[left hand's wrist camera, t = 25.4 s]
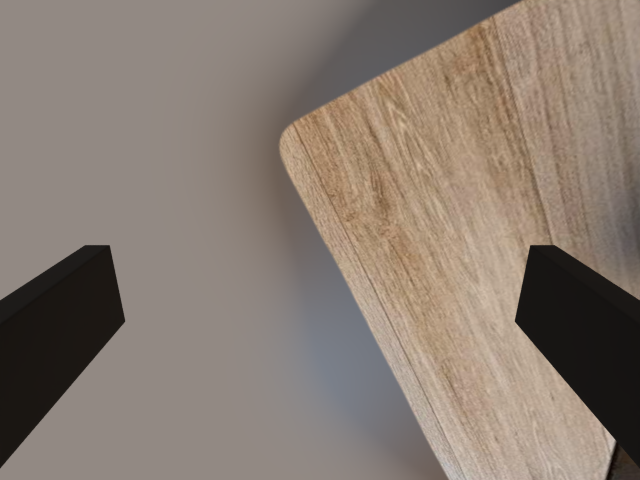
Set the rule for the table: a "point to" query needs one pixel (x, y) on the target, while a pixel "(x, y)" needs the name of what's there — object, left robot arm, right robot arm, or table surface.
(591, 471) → the table surface
